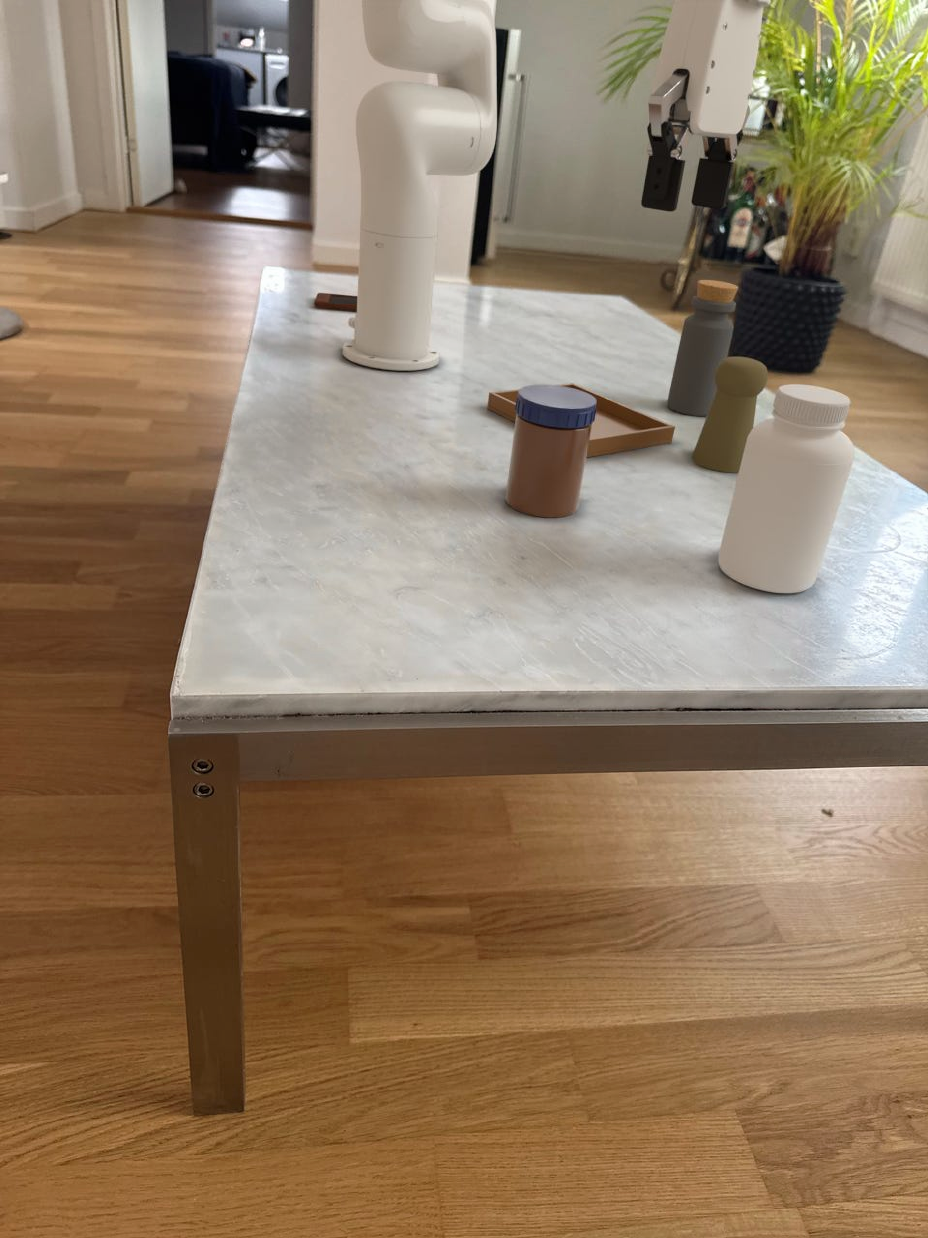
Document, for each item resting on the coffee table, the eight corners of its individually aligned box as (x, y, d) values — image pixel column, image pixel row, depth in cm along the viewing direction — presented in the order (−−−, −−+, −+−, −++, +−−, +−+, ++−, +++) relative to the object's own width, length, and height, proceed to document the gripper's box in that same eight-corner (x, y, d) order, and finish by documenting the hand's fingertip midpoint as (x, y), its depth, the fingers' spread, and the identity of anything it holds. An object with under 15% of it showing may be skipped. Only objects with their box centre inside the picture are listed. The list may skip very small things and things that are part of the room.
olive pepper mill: (716, 474, 97) (743, 368, 92) (679, 454, 102) (703, 351, 96) (760, 470, 100) (788, 366, 94) (722, 450, 104) (747, 350, 99)
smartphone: (412, 309, 146) (314, 300, 144) (411, 316, 146) (313, 307, 145) (411, 300, 152) (317, 291, 150) (410, 306, 152) (317, 297, 151)
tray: (487, 408, 109) (488, 392, 108) (570, 398, 116) (572, 382, 115) (586, 457, 98) (589, 440, 97) (671, 442, 105) (675, 426, 104)
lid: (499, 407, 82) (501, 387, 81) (558, 399, 86) (561, 381, 85) (550, 432, 77) (553, 412, 77) (610, 423, 81) (614, 404, 80)
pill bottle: (702, 549, 80) (746, 374, 73) (792, 554, 81) (844, 382, 74) (733, 593, 73) (785, 405, 66) (830, 598, 74) (892, 413, 67)
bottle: (714, 419, 115) (744, 291, 107) (666, 411, 115) (693, 283, 108) (713, 406, 120) (742, 283, 112) (666, 398, 120) (692, 276, 113)
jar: (490, 495, 86) (503, 393, 81) (545, 484, 90) (560, 387, 85) (536, 522, 82) (552, 417, 77) (592, 510, 85) (610, 409, 81)
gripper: (728, -6, 85) (689, 200, 93) (634, -38, 72) (598, 203, 81) (809, -4, 81) (760, 212, 89) (724, -37, 69) (677, 216, 77)
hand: (683, 207), depth 85 cm, fingers open, 9 cm apart
